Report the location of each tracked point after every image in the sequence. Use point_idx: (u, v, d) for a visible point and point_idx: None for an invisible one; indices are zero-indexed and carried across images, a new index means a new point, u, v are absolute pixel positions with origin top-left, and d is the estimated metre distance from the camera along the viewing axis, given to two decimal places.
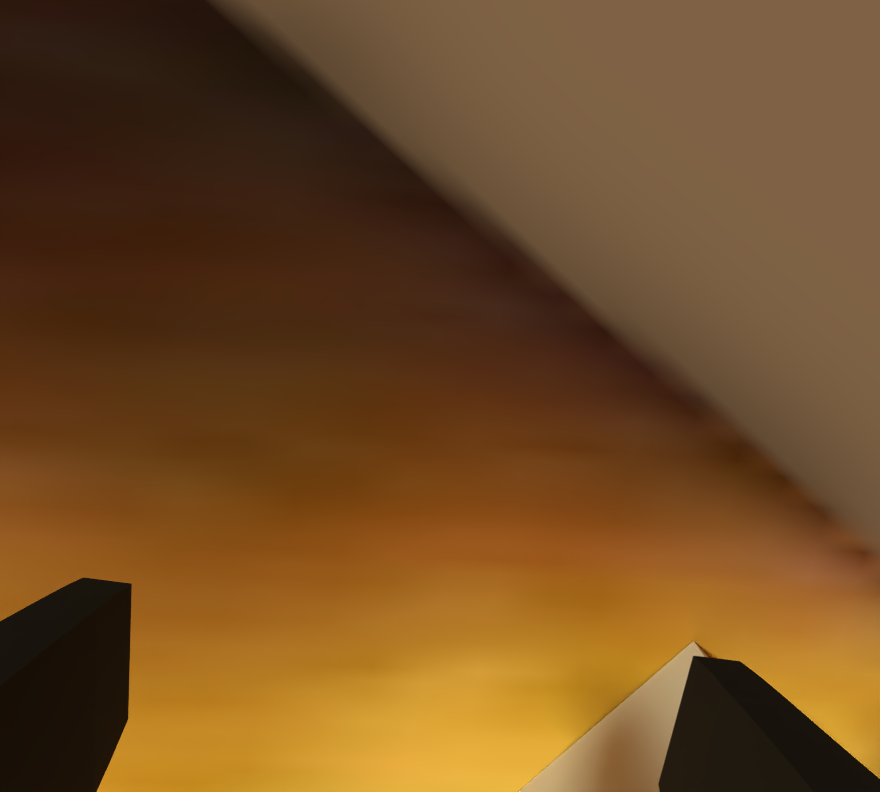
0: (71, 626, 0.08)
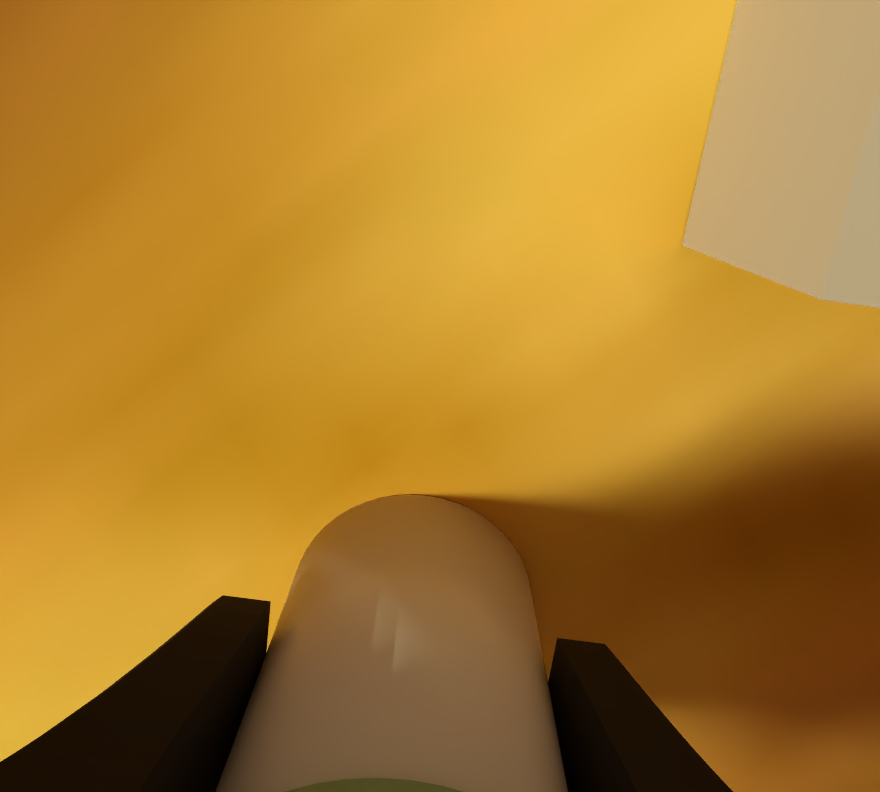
0: (236, 647, 0.08)
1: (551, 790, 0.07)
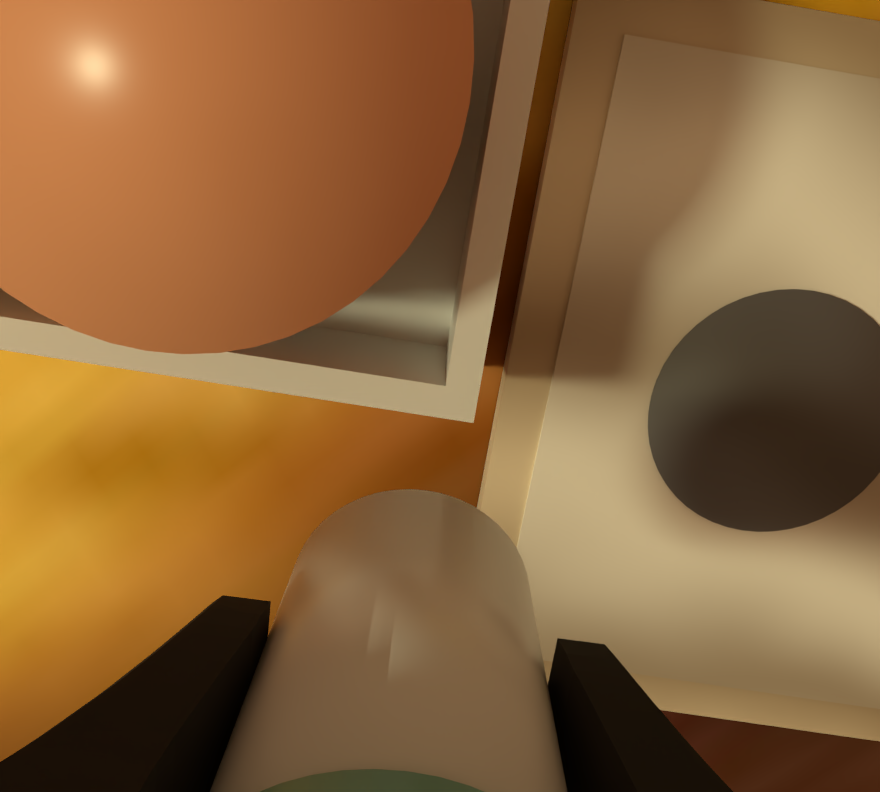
0: (236, 647, 0.08)
1: (549, 783, 0.07)
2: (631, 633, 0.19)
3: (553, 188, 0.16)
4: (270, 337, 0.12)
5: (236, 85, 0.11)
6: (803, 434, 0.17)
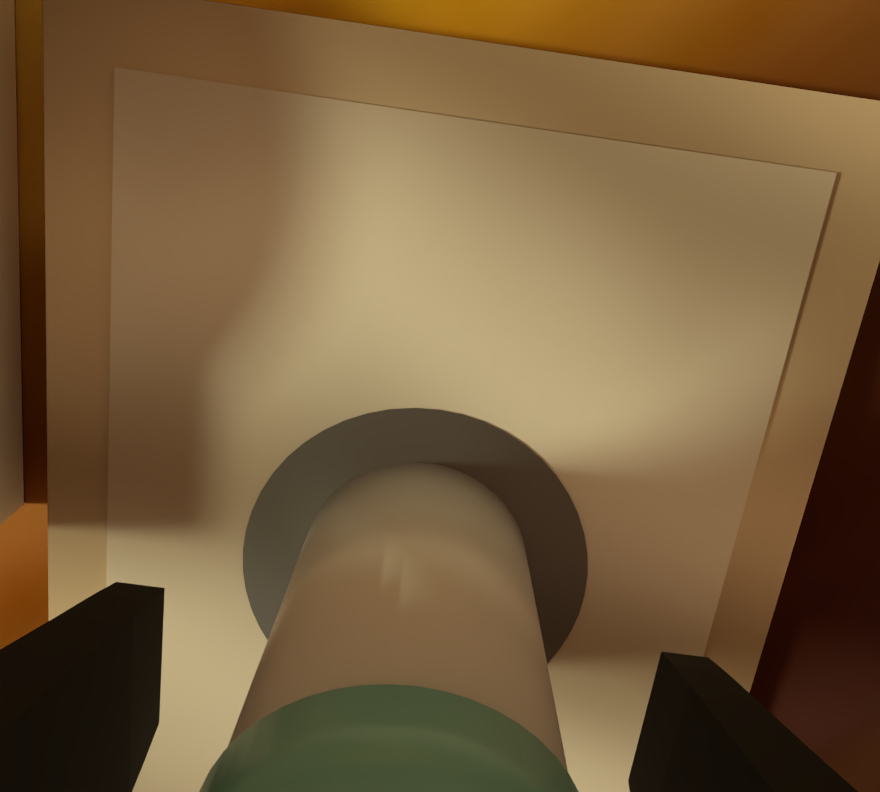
0: (110, 631, 0.08)
1: (541, 708, 0.08)
2: None
3: (61, 279, 0.12)
4: None
5: None
6: None
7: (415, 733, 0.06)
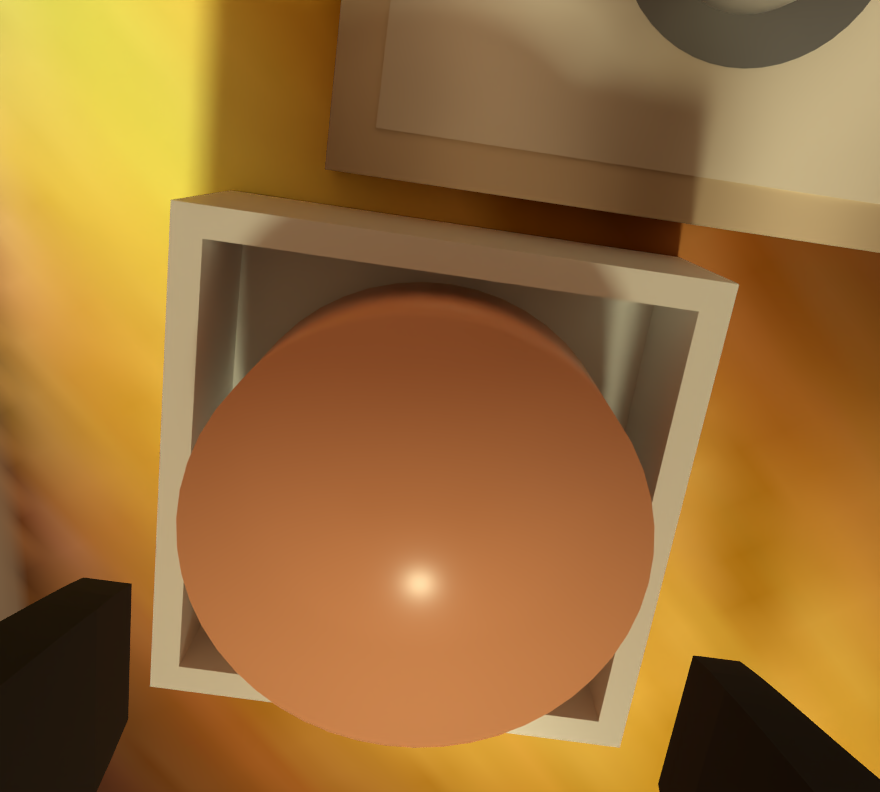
0: (71, 626, 0.08)
1: None
2: None
3: (510, 185, 0.17)
4: (643, 485, 0.13)
5: (438, 499, 0.14)
6: None
7: None
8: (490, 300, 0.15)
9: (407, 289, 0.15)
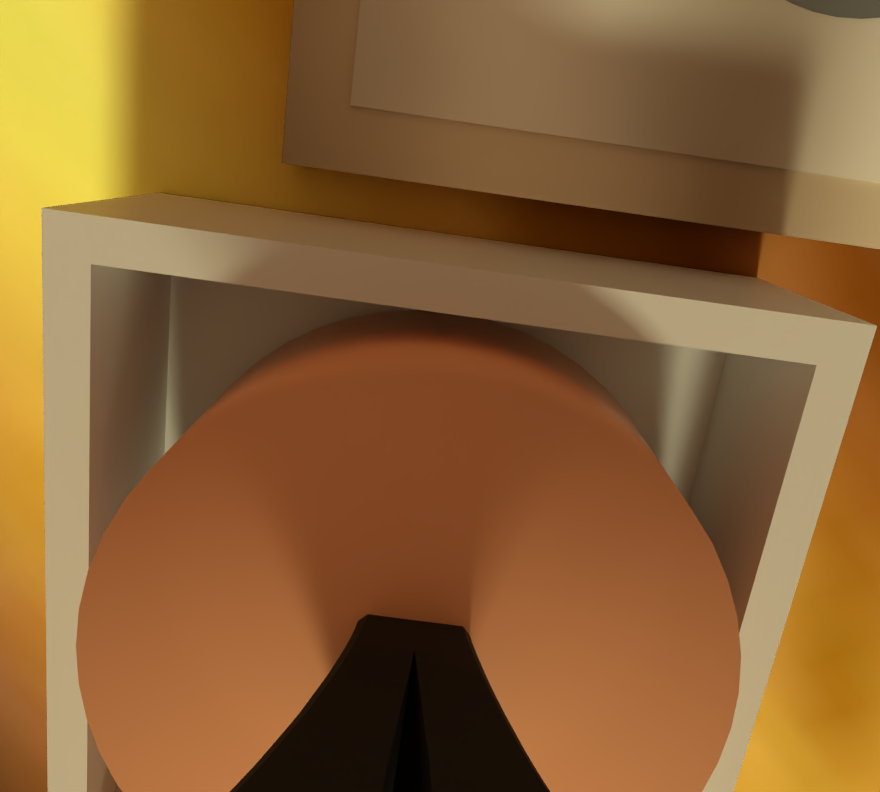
0: (407, 668, 0.08)
1: None
2: None
3: (535, 184, 0.12)
4: (727, 600, 0.10)
5: (440, 619, 0.10)
6: None
7: None
8: (508, 335, 0.11)
9: (396, 321, 0.11)
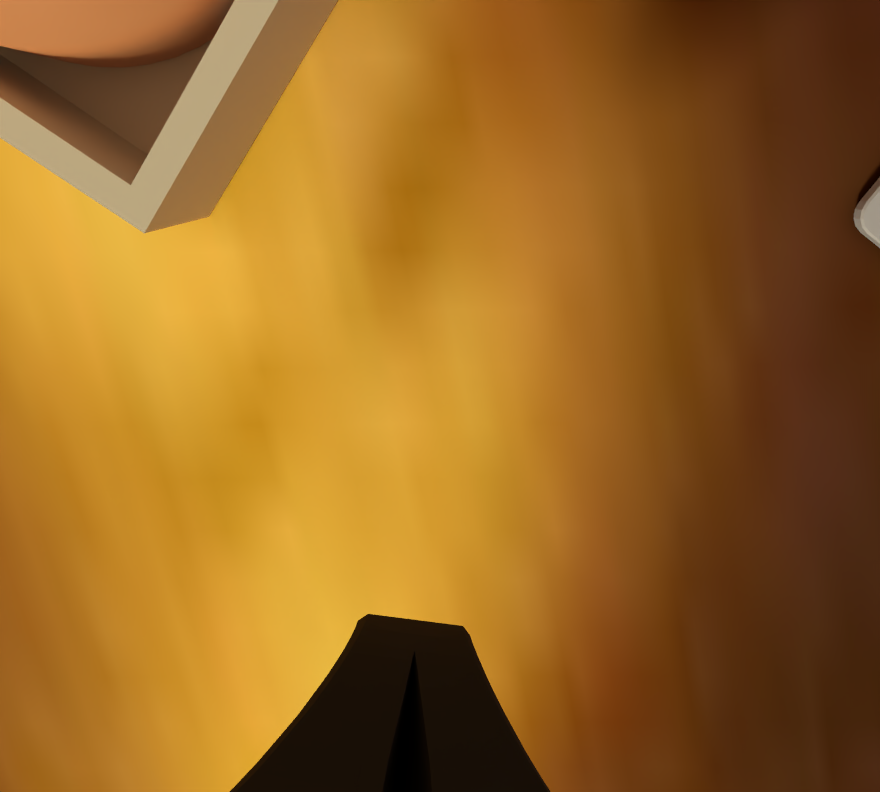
0: (407, 668, 0.08)
1: None
2: None
3: None
4: None
5: None
6: None
7: None
8: None
9: None
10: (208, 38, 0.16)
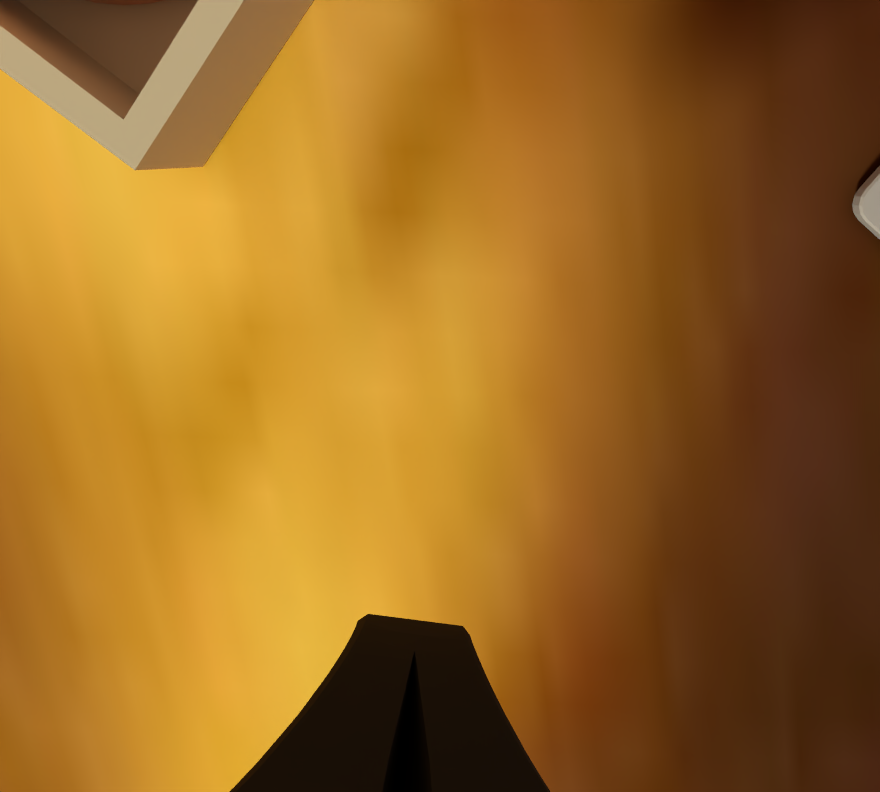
0: (407, 668, 0.08)
1: None
2: None
3: None
4: None
5: None
6: None
7: None
8: None
9: None
10: None
